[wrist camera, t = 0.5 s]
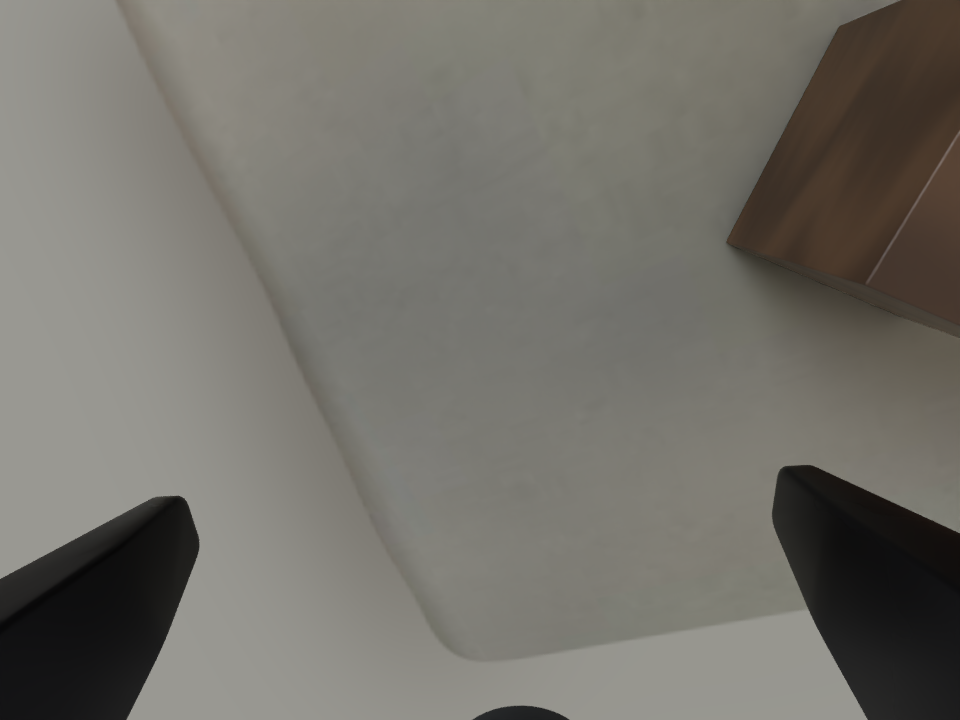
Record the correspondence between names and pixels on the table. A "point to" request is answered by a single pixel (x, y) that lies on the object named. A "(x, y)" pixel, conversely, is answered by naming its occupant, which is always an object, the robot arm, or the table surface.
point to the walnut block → (873, 168)
